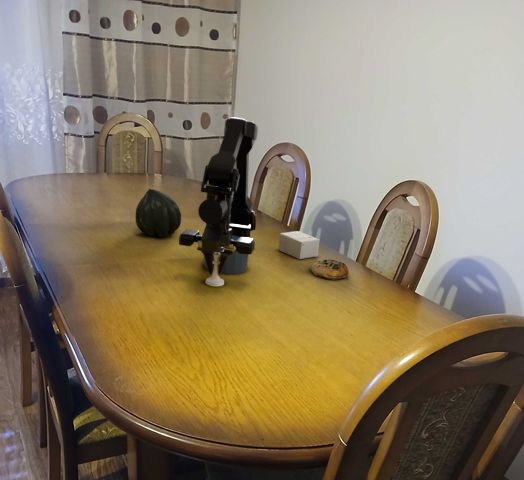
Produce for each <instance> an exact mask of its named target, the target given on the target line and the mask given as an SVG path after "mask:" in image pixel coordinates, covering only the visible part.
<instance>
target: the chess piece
mask: <svg viewBox="0 0 524 480" xmlns="http://www.w3.org/2000/svg"><path fill="white" fill-rule="evenodd" d="M213 256H214V260H215V261H213V262H212V263H213V264H214V269H213V272H212V273H211V275H210V276H209V277H207V278H206V279H205V284H206V285H208V286H210V287H222V286H224V285H225V280H224V279H223V278H221V277H220V275H219V273H218V264H220V262H219V261H218V260H219V258H220V256H221V254H220V253H218V252H215V253H213Z"/></svg>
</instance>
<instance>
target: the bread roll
mask: <svg viewBox="0 0 524 480" xmlns="http://www.w3.org/2000/svg"><path fill="white" fill-rule="evenodd" d="M310 271H311V272H312V273H313V275H314V276H318V277H322V278H325V279H328V280H332V281H338V280H341V279H345V278H347V277H348V276H349V268H348V266H347V265H346V263H345V262H342V261H341V260H336V259H332V258H331V259H329V258H328V259H326V258H325V259H322V260H316V261H315V262H314V263H312V264H311V269H310Z"/></svg>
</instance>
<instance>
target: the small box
mask: <svg viewBox="0 0 524 480" xmlns="http://www.w3.org/2000/svg"><path fill="white" fill-rule="evenodd" d="M278 238H279V239H278V248H277V250H278V251H280V252H282V253H284V254H287V255H289V256H291V257H293V258H295V259H298V260H304V259H309V258H316V257H318V255H319V248H320V241H321V239H320V238H317V237H314V236H312V235H309V234H307V233H304V232H302V231H299V230H296V231H288V232H281V233H279V237H278Z"/></svg>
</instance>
